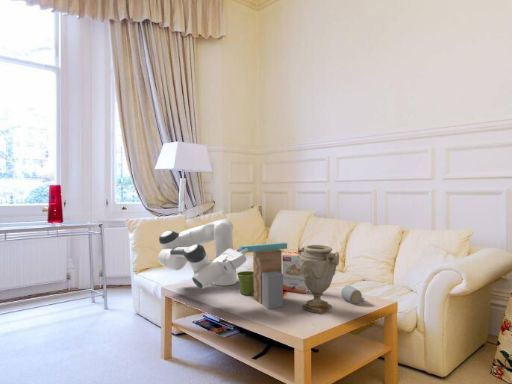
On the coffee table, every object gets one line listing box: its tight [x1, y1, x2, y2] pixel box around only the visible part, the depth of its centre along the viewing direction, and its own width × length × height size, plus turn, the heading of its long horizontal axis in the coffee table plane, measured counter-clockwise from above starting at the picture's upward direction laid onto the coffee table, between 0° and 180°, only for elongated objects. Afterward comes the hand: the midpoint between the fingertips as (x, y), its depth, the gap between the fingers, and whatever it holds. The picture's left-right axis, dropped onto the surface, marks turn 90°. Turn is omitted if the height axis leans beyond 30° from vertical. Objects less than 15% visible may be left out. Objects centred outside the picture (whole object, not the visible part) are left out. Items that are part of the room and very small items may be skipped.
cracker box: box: [282, 252, 310, 294], centre depth 206 cm, size 14×6×21 cm, turn 62°
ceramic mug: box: [340, 284, 365, 305], centre depth 186 cm, size 11×8×8 cm
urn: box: [297, 244, 340, 315], centre depth 175 cm, size 24×18×30 cm
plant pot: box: [236, 270, 254, 296], centre depth 203 cm, size 12×12×11 cm
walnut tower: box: [252, 249, 283, 305], centre depth 191 cm, size 9×12×26 cm
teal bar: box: [238, 242, 288, 254], centre depth 190 cm, size 3×26×3 cm, turn 114°
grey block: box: [261, 271, 284, 310], centre depth 182 cm, size 7×8×16 cm
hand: (245, 248), depth 186 cm, fingers closed on teal bar, 3 cm apart
